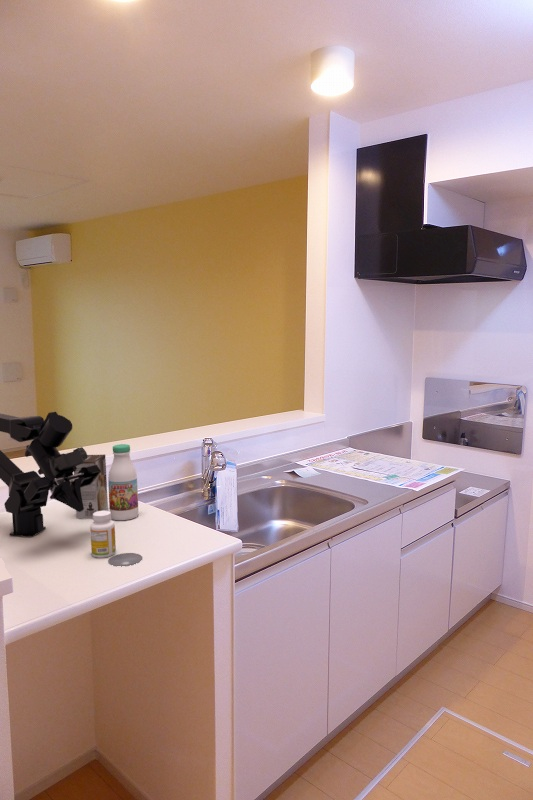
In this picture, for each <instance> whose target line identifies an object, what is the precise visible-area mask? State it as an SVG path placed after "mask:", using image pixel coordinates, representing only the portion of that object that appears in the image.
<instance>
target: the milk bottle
mask: <svg viewBox="0 0 533 800" xmlns="http://www.w3.org/2000/svg"><path fill="white" fill-rule="evenodd" d="M130 454H131V446H130V444H126V443H120V444H114V445H113V446H112V455H113V460H112V463H111V465H110V467H109V471H108V480H107V487H108V509H109V511H110V512H111V519H110V520H115V521H128V520H132V519H135V518H137V517H138V516H139V494H138V493H139V491H138V477H137V470H136V468H135V466H134V464H133V462H132V459H131V456H130Z"/></svg>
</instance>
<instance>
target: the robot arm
mask: <svg viewBox="0 0 533 800" xmlns="http://www.w3.org/2000/svg"><path fill="white" fill-rule="evenodd" d="M45 417H46V418H45V419H44V418H43V417H42V416H41V415H32V416H23V417H19V416H15V415H9V414H4V413H0V432H1V433H5V434H9V436H10V438H11V439H13V440H15V441H16V442H18V443H24V442H29V441H31V442H30V444H28V445H26V447H25V448H26V449H25V452H24V457H26V458H28V457H32V458H33V459H34V462H35V463H36V464H37V466H38V468H39V469H38V470H37V472H36V471H35V470H29V471H27V472H24V471H23V470H21V468H19V466H18V465H17V464H15V463H14V462H13V461H12V459H10V458H9V457H8V456H7V455H6V454H5V453H4V452H3V451H2V450H1V449H0V480H1V481H2V482H3V483H4V484H5V485H6V486H7V487H8V498H7V499H6V500H5V502H4V508H5V512H7V513H10V514H12V517H11V518H12V530H13V531H11V532H9V536H13V537H28V538H32V537H34V536H36V535H37V534H40V533H41V532H43V531H45V530H46V529H47V527H46V526H44V514H43V513H42V507H46V506H47V503H48V499H50V500H55V501H57V502H60V503H62V504H64V505H66V506H67V507H70V508H72V509H73V510H74V511H75V512H76V511H78V512H81V511H83V510H84V507H83V501H82V496H81V488H80V487H85V486H88V485H90V484H92V483H93V481H94V480H95V479H96V477H97V476H98V475H99V474H100V472H101V470H100V469H99V467H98V466H97V465H95V464H92V465H88V466H84V467H82V468H81V470H80V471H79V472H78V474H74V471H76V469H77V468H76V466H77V465H79V464H83V463H84V460H86V459H87V458H88V456H87V455H88V453H87V450H85V449H84V447H83V446H81V447H77V448H75V449H73V451H70V452H67V453H60V451H59V449H58V448H59V447H60V446H61V445H63V443H64V442H65V440H66V439H67V438H68V436H69V434H70V433H71V432H72V431H73V423H72V421H71V420H70V419H68V418H67V417H65V416H63V415H59V414H58V412H57V411H51V412H48V414H46V416H45ZM41 475H43V476H42V477H41ZM49 493H51V494H50V496H49Z"/></svg>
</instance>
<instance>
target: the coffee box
mask: <svg viewBox="0 0 533 800" xmlns="http://www.w3.org/2000/svg"><path fill="white" fill-rule="evenodd" d="M87 456H88V458H87V459H86V460H84V463H83V464H79V465H77V466H76V468H77V469H76V471H74V472H73V475H74V474H78V472H79V471H80V470H81V468H82V467H84V466H88V465H92V464H95V465H97V466H98V467H99V469H100V470H101V472H100V474H99V475H98V476H97V477H96V479H95V480H94V481H93V483H92V484H90V485H88V486H85V487H80V488H81V496H82V501H83V507H84V510H83V511H81V512H78V511H76V510H75V513H76V519H77V518H91V519H93V513H95V512H97V511H108V509H109V497H108V480H107V466H106V465H107V462H106V454H87Z"/></svg>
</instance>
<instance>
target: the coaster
mask: <svg viewBox="0 0 533 800" xmlns="http://www.w3.org/2000/svg"><path fill="white" fill-rule="evenodd" d="M141 560H142V561H143V556H142V554H140V553H135V552H124V553H123V552H122V553H119V554H115V555H112V556H110V558H108V560H107V562H108V563H107V564H109V565H110V566H112V565H113V567H117V566H121V567H122V566H125V567H129V566H130V565H131V566H134V564H135V565H136V563H137V564H139V563H141V562H142V561H141ZM140 561H141V562H140ZM121 567H120V568H121Z"/></svg>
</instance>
